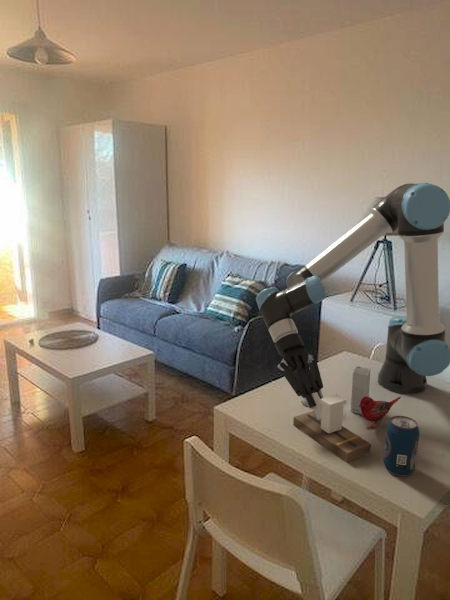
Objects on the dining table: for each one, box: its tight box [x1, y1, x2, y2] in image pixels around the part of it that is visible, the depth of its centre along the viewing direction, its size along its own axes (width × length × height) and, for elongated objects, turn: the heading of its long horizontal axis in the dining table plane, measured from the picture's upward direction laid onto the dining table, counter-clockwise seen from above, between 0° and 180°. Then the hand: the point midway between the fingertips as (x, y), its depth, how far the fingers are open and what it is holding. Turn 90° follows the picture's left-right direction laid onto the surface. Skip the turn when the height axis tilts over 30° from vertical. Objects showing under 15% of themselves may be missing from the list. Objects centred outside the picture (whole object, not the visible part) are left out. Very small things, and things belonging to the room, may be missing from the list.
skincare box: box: [350, 366, 371, 415], centre depth 133 cm, size 6×4×12 cm
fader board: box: [292, 410, 372, 463], centre depth 118 cm, size 20×8×3 cm, turn 30°
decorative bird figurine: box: [359, 396, 402, 429], centre depth 124 cm, size 3×18×10 cm, turn 123°
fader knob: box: [320, 393, 347, 433], centre depth 117 cm, size 4×6×8 cm, turn 120°
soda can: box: [383, 415, 420, 477], centre depth 105 cm, size 7×7×12 cm
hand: (322, 417), depth 119 cm, fingers closed
